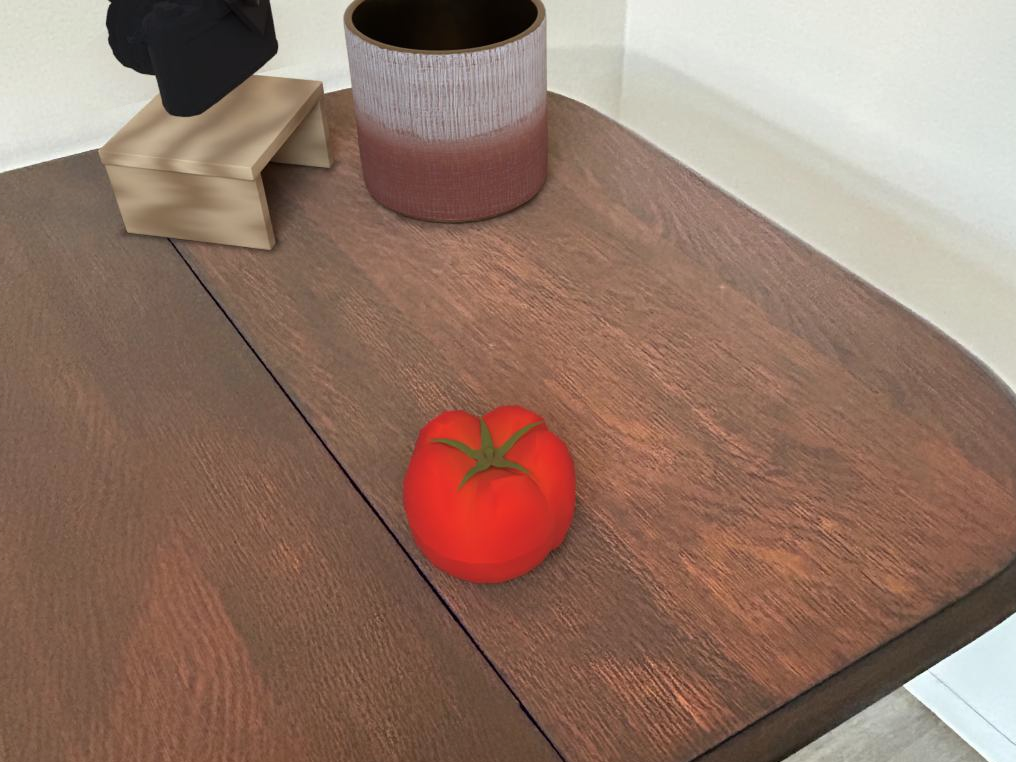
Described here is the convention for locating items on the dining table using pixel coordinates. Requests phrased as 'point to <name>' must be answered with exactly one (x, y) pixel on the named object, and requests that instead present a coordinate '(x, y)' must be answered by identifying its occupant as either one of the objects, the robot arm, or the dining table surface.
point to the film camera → (188, 48)
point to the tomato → (489, 493)
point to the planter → (450, 104)
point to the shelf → (216, 161)
